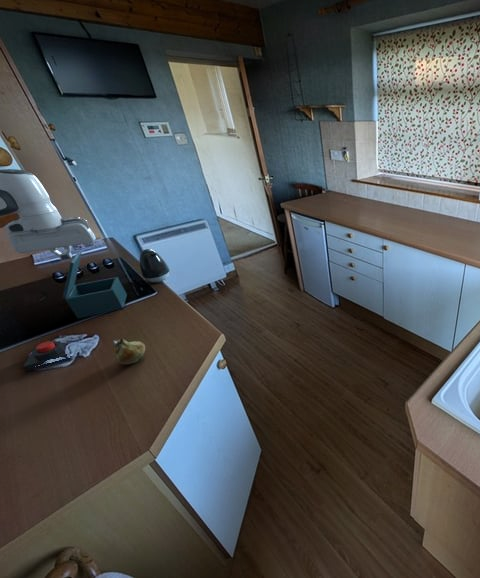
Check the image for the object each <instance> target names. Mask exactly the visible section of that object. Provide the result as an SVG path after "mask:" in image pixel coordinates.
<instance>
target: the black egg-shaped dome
mask: <svg viewBox="0 0 480 578" xmlns="http://www.w3.org/2000/svg"><path fill="white" fill-rule="evenodd" d="M139 268H140V272H141V275H142V277H143V278H144V279H145V280H147V281H148V282H150V283H161V282H164V281H166V280H168V278H169V277H170V268H169V265H168V264H167V263H166V261H165V260H164V258H162V256H161V255H160V254H159V253H158V252H156V251H155V250H153V249H150V248H146V249H143V250H142V251H140V254H139Z"/></svg>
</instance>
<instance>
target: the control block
mask: <svg viewBox="0 0 480 578" xmlns="http://www.w3.org/2000/svg"><path fill="white" fill-rule="evenodd" d="M74 340H75V339H73V341H74ZM71 341H72V340H70V341H65V342H66V343H67V342H71ZM52 342H53V343H54V344H55V346H56V347H55V348H53V349H52V350H50V351H48V352H44V353H40V352H39V351H38V350H37V349H36V348H34V349H33V350H32V352H30V355H29V356H28V358H27V359H26V361H25V362H24V364H23V365H22V366H23V367H22V368H23V369H24V370H25V371H26V372H32V371H36V370H39V369H43V368H46V367H50V366H54V365H58V364H61V363H66V362H68V361H72V360H73V358H74V356H75V354H74V355H73V356H70V358H66V359H62V360H59V361H55V362H52V363H47V364H44V365H41V364H43V363H44V362H45V361H47V360H50V359H56V358H59V357H66V356H67V354H65V352H64V349H65V347H66V344H65V343H64V342H62V341H60V340H53V341H52ZM38 365H40V366H38ZM35 366H36V367H35Z"/></svg>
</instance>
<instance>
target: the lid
mask: <svg viewBox="0 0 480 578" xmlns="http://www.w3.org/2000/svg"><path fill="white" fill-rule="evenodd" d="M82 252H83V251H82V250H78V252H76V254H75V256H73V257H72V259H71V261H70V262H69V267H68V272H67V276H66V281H65V284H64V285H65V286H64V290H63V295H62V299H66V297H67V296H68V294H69V292H70V291H71V289H72V287H73V286H74V285H76V279H77V275H78V270H79V266H80V262H81V257H82Z"/></svg>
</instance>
